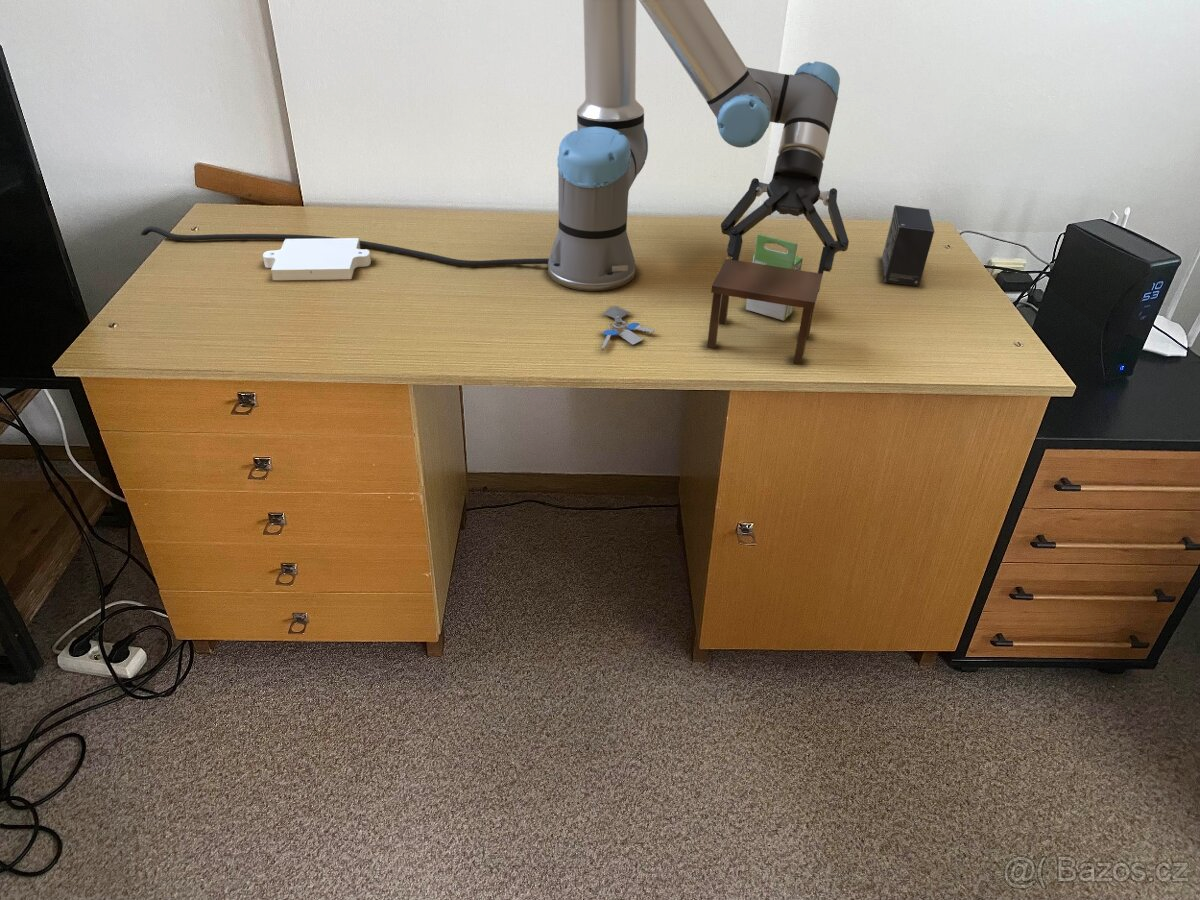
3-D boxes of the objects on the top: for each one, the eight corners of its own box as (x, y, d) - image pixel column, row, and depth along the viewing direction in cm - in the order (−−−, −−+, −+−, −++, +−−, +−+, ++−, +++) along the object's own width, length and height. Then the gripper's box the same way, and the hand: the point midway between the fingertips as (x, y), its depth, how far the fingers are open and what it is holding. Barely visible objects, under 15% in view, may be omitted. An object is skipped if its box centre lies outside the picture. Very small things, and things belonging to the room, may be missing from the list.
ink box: (793, 312, 145) (807, 235, 137) (784, 322, 142) (797, 244, 134) (754, 301, 148) (766, 225, 140) (744, 310, 145) (755, 233, 137)
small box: (921, 287, 154) (936, 230, 148) (883, 283, 155) (896, 226, 148) (916, 262, 162) (930, 207, 156) (880, 258, 163) (893, 204, 157)
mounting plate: (257, 280, 149) (255, 270, 148) (273, 249, 159) (271, 239, 158) (366, 279, 150) (364, 268, 149) (374, 247, 161) (373, 237, 160)
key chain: (603, 308, 144) (603, 303, 143) (653, 310, 144) (654, 305, 143) (600, 351, 133) (600, 346, 132) (655, 353, 133) (655, 348, 132)
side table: (704, 347, 135) (711, 285, 128) (717, 318, 142) (725, 258, 136) (802, 365, 131) (815, 302, 125) (811, 334, 139) (822, 273, 133)
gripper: (876, 179, 143) (851, 302, 141) (725, 160, 149) (698, 279, 146) (882, 156, 136) (855, 286, 133) (723, 138, 142) (694, 262, 139)
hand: (773, 282), depth 140 cm, fingers open, 13 cm apart
